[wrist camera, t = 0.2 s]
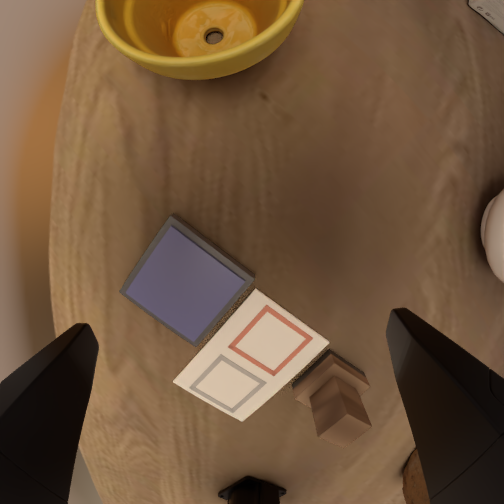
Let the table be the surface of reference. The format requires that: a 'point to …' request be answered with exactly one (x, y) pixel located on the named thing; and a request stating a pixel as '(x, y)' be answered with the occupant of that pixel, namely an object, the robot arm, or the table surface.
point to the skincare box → (490, 11)
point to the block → (414, 482)
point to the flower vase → (494, 234)
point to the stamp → (334, 398)
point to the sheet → (250, 357)
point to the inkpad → (186, 281)
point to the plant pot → (196, 33)
